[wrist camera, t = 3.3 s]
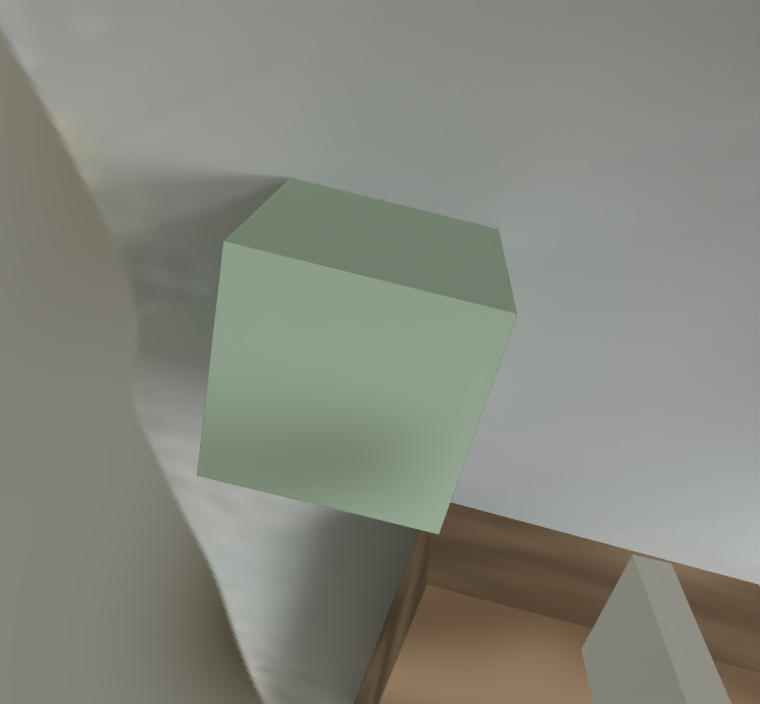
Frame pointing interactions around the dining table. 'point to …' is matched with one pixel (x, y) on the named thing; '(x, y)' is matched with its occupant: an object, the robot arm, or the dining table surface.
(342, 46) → the dining table surface
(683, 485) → the dining table surface
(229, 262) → the sage cube
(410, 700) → the walnut block
